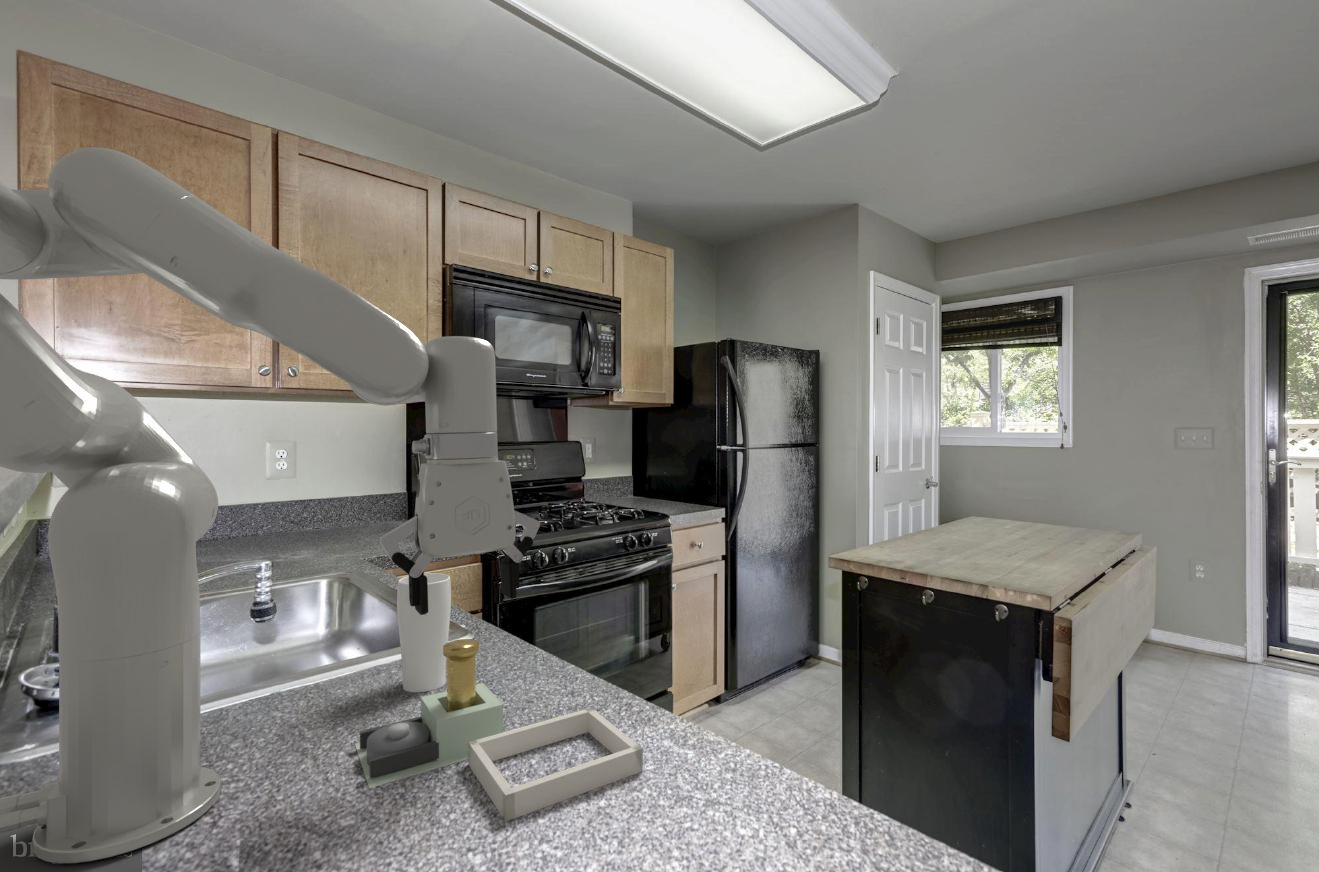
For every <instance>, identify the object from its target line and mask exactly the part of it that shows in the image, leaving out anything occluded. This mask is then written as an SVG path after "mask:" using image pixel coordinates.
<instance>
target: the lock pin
mask: <svg viewBox="0 0 1319 872" xmlns="http://www.w3.org/2000/svg"><path fill="white" fill-rule="evenodd" d="M479 652H480V641H478V639H471V638H463V639H456V640H451V641H448V643H446V644H445V645H444V646H443V655H444V656H445V657H447V659H446V691H447V713H448V712H452V711H456V710H460V709H464V708H468V707H472V706H476V679H477V678H476V677H477V675H476V672H477V671H476V668H477V667H476V658H477V657H476V654H478V653H479Z"/></svg>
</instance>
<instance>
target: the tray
mask: <svg viewBox="0 0 1319 872" xmlns="http://www.w3.org/2000/svg"><path fill="white" fill-rule="evenodd" d="M586 733H589V735H591V736H592V737H594V739H596V740H597V741H598V742H599V743H600V744H601V745H603V746H604V747H605V748H606V749H607V750H608V751H609V752H610V753H611V754H608V755H605V756H602V757H600V758H596V759H593V760H590V761H587V762H584V763H581V764H579V765H576V766H573V767H569V768H566V769H563V770H561V771H558V772H555V773H551V774H549V775H546V776H543V777H540V778H538V779H534V780H530V781H528V782H525V783H521V784H518V785H516V786H512V787H511V785H510V784H509V783H508V782H507V780H506V779H505V777H504V776H503V775H502V773H501V772H500V770H499V769H498V768H497V766H496V765H495V764H494V762H495V761H498V760H502V759H504V758H508V757H512V756H514V755H517V754H520V753H524V752H528V751H531V750H534V749H538V748H541V747H544V746H547V745H550V744H553V743H554V744H555V743H557V742H560V741H563V740H567V739H569V738H574V737H576V736H580V735H583V734H586ZM643 753H644V752H643V748H642V747H641V746H640V745H639V744H638V743H636V742H635V741H634V740H633V739H632V738H631V737H629V736H628V735H626V734H625V733H624V732H623V731H622V730H620V729H619V728H618V727H617V726H615V725H614V724H613V723H611V722H610V721H609V720H607V719H606V718H605V717H604V716H603V715H601V714H600V713H599V712H597V711H596V709H594V708H593V707H588V708H586V709H581V710H578V711H575V712H572V713H568V714H564V715H561V716H556V717H554V718H550V719H545V720H543V721H539V722H536V723H535V722H534V723H531V724H529V725H525V726H521V727H517V728H513V729H511V730H507V731H503V733H499V734H496V735H492V736H489V737H485V738H482V739H478V740H474V741H471V742H468V759H467V761H468V762H467V763H468V766H469V768H470V769H471V771H472V772H473V774H474V775H475V777H476V778H477V780H478V782H479V783H480V784H481V787H483V789H484V790H485V793H486V794H487V795H488V797H489V798H490V800H491V801H492V803H493V804H494V806H495V808H496V809H497V810H498V812H499V813H500V816H501V817H502V818H503V820H504V821H505V822H508V821H511V820H515V819H516V818H519V817H522V816H524V815H527V814H530V813H533V812H535V811H538V810H540V809H544V808H546V807H548V806H552V805H554V804H557V803H560V802H562V801H565V800H569V799H570V798H573V797H576V796H579V795H582V794H584V793H587V792H590V791H593V790H596V789H599V788H601V787H604V786H606V785H609V784H611V783H614V782H617V781H620V780H623V779H625V778H628V777H631V776H633V775H636V774H639V773H642V772H643V771H644V767H643V764H644V763H643V759H644V758H643V755H644V754H643Z"/></svg>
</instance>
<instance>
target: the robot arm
mask: <svg viewBox="0 0 1319 872" xmlns="http://www.w3.org/2000/svg"><path fill="white" fill-rule="evenodd" d="M47 186H48V189H11V188H9V187H8V186H6V185H5V184H4V183H2V182H1V181H0V280H44V279H46V280H47V279H65V278H66V279H68V278H88V277H90V278H91V277H106V276H107V277H109V276H111V277H112V276H125V275H126V276H127V275H138V274H144V275H146V276H147V277H149V278H151V279H152V280H153V281H156V282H157V283H160V284H161V285H163V286H164V287H167V288H168V289H169V290H171V291H173V293H176V294H178V295H180V296H181V297H183V298H185V299H187V300H188V301H189V302H192V303H193V304H195V305H196V306H198V307H199V308H201V309H203V310H205V311H206V312H208V313H209V314H211V315H213V316H215V317H216V318H218V319H220V320H222V321H224V322H226V323H228V324H229V325H231V326H234V327H236V328H239V329H245V330H248V331H252V332H255V333H257V334H261V335H263V336H265V337H267V338H268V339H271V340H273V341H275V342H277V343H278V344H280V345H282V346H284V347H287V348H288V349H290V350H291V351H293V352H295V353H297V354H299V355H300V356H302V357H304V358H305V359H307V360H309V361H311V362H312V363H314V364H316V365H317V366H318V367H321V368H322V369H324V370H325V371H327V372H328V373H330V374H332V375H334V376H336V377H337V378H339V380H340V379H341V380H342V381H344V382H345V383H347V385H349V387H350V389H351V390H352V391H353V392H354V394H356V395H357V397H359V398H360V399H362V400H363V401H365V402H366V403H370V404H372V405H376V406H385V407H387V406H396V405H398V406H399V405H404V404H412V403H413V404H414V403H419V402H420V403H421V402H424V403H425V404H424V406H425V433H426V434H424V437H423V438H421V439H419V440H413V441H412V445H411V449H412V453H413V454H420V455H423V456H424V458H425V459H426V463H420V468H419V472H418V476H417V477H418V478H417V485H416V494H415V495H416V496H415V506H414V507H415V508H414V516H413V517H411V518H410V519H408V520H407V521H405V522H403V523H401V524H400V525H398V526H396V527H395V528H393V529H391V530H389V531H388V532H386V533H385V534H383V535H381V536H380V537H379V543H380V545H381V546H382V548H383V550H384V551H385V553H386V554H387V556H388V558H389V559H390V561H391V562H392V563H394V565H396V566H397V567H399V568H400V569H401V570H403V571H404V572H405V573H406V574H407V575H408V576H409V601H410V605H411V606H415V609H416V610H417V612H418V613H419V614H420V615H424V614H426V613H428V582H427V577H426V576H425V575H424V574H425V572H424V571H425V570H426V569H427V568H428V567H429V565H430V564H431V562H432V561H433V560H434V559H441V558H442V559H443V558H452V557H461V556H466V555H467V556H468V555H475V554H482V553H489V552H497V551H499V552H500V553H501V554H502V555H503V558H502V559H501V561H500V589H501V590H500V591H501V594H503V596H505V597H507V598H509V599H511V600H512V599H516V598H517V589H519V588H520V563H521V562H522V561H523V559H524V555H526V553H527V552H528V551H529V549H530V548H531V547H532V546H533V544H534V539H535V538H536V535H537V533H538V530H539V529H540V526H541V522H540V521H539V520H537V519H536V518H533V517H531V516H528V515H526V514H523V513H521V512H519V511H518V510H515V507H514V500H513V499H514V498H513V491H512V485H511V480H510V473H509V470H508V466H507V462H506V460H499V457H498V456H499V455H498V454H499V453H498V450H499V449H498V418H497V417H498V414H497V413H498V412H497V383H496V382H497V381H496V380H497V379H496V377H497V375H496V353H495V349H494V346H493V345H492V344H491V343H490V342H489V341H488V340H485V339H483V338H479V337H473V336H464V335H463V336H461V335H459V336H458V335H455V336H453V335H451V336H439V337H435V338H433V339H431V340H430V341H429V340H428V342H426V343H425V342H422V341H421V340H420V339H419V337H417V335H416V334H415V333H414V332H413V331H411V330H410V328H408V327H406V325H404V323H403V324H402V323H401V322H400V321H398V320H397V319H396V318H394V317H393V316H391V315H390V314H388V313H387V312H385V311H384V310H382V309H380V308H379V307H377V306H376V305H375V304H373V303H372V302H370V301H369V300H367V299H365V298H364V297H362V296H361V295H359V294H358V293H356V292H354V291H353V290H351V289H350V288H349V287H346V286H345V285H344V284H341V283H340V282H338V281H336V280H335V279H333V278H332V277H330V276H328V275H326V274H325V273H322V272H321V271H319V270H317V269H315V268H313V267H310V266H309V265H306V264H305V263H303V262H302V261H300V260H298V259H296V258H295V257H293V256H291V255H289V254H287V253H285V252H283V251H281V250H279V248H276V247H274V246H273V245H271V244H270V243H269V242H267V241H265V240H264V239H262V238H261V237H259V236H257V235H256V234H255V233H253V232H251V231H249V230H248V229H247V228H246V227H244V226H241V225H239V224H238V223H237V222H235V221H234V220H232V219H231V218H230V217H228V216H226V215H225V214H223V213H222V212H220V211H218V210H217V209H216V208H214V207H213V206H211V205H210V204H209V203H207V202H205V201H204V200H202V199H201V198H200V197H198V196H197V195H194V194H193V193H191V192H190V191H189V190H187V189H185V188H184V187H182V186H181V185H179V184H178V183H176V182H175V181H173V180H172V179H170V178H169V177H167V176H165V175H164V174H163V173H161V172H160V171H158V170H156V169H155V168H153V167H151V166H150V165H149V164H146V163H145V162H143V161H142V160H139V159H137V158H135V157H133V156H131V155H129V154H126V153H124V152H121V151H118V150H116V149H111V148H106V147H96V146H95V147H84V148H79V149H75V150H74V151H71V152H69V153H67V154H65V155H64V156H62V157H61V158H60V159H59V160H57V161H56V163H55V164H54V166H53V167H52V169H51V171H50V174H49V178H48V183H47ZM0 468H4V469H7V470H10V471H15V472H20V473H30V474H31V473H32V474H33V473H35V474H45V473H52V474H53V475H54V476H55V477H56V478H57V479H58V480H59V481H60V482H61V483H62V484H63V485H64V486H65V487H66V488H67V490H66V491H65V492H64V494H63V495H62V496H61V497H60V498H59V500H58V502H57V503H56V504H55V506H54V509H53V512H52V513H51V516H50V520H49V524H48V531H47V536H48V538H47V539H48V540H47V542H48V546H47V547H48V551H49V553H48V554H49V559H50V562H51V569H52V574H53V579H54V586H55V590H56V591H55V592H56V600H57V618H58V658H59V660H58V662H59V663H58V665H59V666H58V667H59V668H58V670H59V671H58V672H59V673H58V674H59V675H58V682H59V683H58V684H59V685H58V689H59V690H58V693H59V696H58V706H59V707H58V709H59V711H58V719H59V720H58V723H59V724H58V725H59V726H58V733H59V734H58V735H59V736H58V778H57V780H56V781H53V782H50V783H44V785H43V786H42V788H41V789H38V790H34V791H30V792H26V793H16V794H12V795H8V796H7V795H6V796H3V797H0V834H3V833H6V832H7V833H8V832H10V831H14V830H18V829H21V828H23V827H27V826H31V825H35V824H37V827H36V828H35V830H34V831H33V834H32V841H31V842H32V853H33V854H34V855H35V856H36V858H38V859H41V860H43V861H44V862H48V863H54V864H55V863H56V864H79V863H87V862H94V861H99V860H103V859H108V858H113V857H115V856H116V857H117V856H119V855H123V854H126V853H130V852H132V851H135V850H138V849H140V848H143V847H146V846H149V845H151V844H154V843H156V842H158V841H160V840H162V839H165V838H168V837H169V836H171V835H173V834H175V833H177V832H179V831H180V830H182V829H184V828H185V827H187V826H188V825H190V824H192V823H194V822H195V821H197V819H199V818H201V817H202V816H203V815H204V814H206V813H207V812H208V811H209V809H210V808H212V806H213V805H215V803H216V802H217V800H218V799H219V797H220V795H221V790H222V786H221V785H222V784H221V777H220V775H219V774H218V772H216V771H215V770H213V769H211V768H208V767H204V766H201V597H200V583H199V573H198V564H197V562H198V561H197V542H198V541H199V540H200V539H201V538H203V537H204V536H205V535H206V534H207V532H208V531H209V530H210V529H211V527H213V524H214V522H215V520H216V518H217V515H218V511H219V498H218V493H217V490H216V488H215V485H214V484H213V483H212V481H211V479H210V478H209V477H208V475H207V473H205V472H204V471H203V470H202V468H201V467H200V466H199V465H198V464H197V463H196V461H194V460H193V458H192V457H191V456H190V455H189V454H188V453H187V452H186V450H184V449H183V447H181V445H180V444H179V443H178V442H177V441H176V440H175V438H173V437H172V436H171V435H170V433H168V431H167V430H166V429H165V428H164V427H163V426H162V425H161V424H160V422H158V420H157V419H156V418H155V417H154V416H153V415H152V414H151V413H150V411H148V409H147V408H145V406H144V405H143V404H142V403H141V402H140V401H139V400H138V399H137V398H136V397H135V396H133V395H132V394H131V393H130V392H128V391H127V390H126V389H125V388H123V387H122V386H121V385H119V384H117V383H116V382H114V381H112V380H110V379H107V378H105V377H104V376H100V375H97V374H94V373H91V372H87V371H83V370H81V369H78V368H76V367H75V366H74V365H72V364H70V363H69V362H68V361H67V360H66V359H65V358H64V357H62V355H60V354H59V352H57V351H56V350H55V348H53V347H52V346H51V344H50V343H49V342H47V341H46V339H45V338H43V336H42V335H41V334H39V333H38V331H37V330H36V329H34V327H33V326H32V325H31V324H30V323H29V321H28V320H27V318H25V316H24V315H23V314H22V313H21V311H19V310H18V309H17V308H16V307H15V305H13V304H12V303H11V302H10V301H9V300H8V299H7V298H6V297H5V296H4V295H3V294H2V293H0ZM516 524H517V525H520V526H522V529H523V530H522V534H521V535H520V536H519V537H518V539H517V540H516V535H517V533H516V531H517V529H516ZM413 534H414V544H415V548H416V551H415V552H414V553H413V554H412V556H411V557H410V558H409V557H408V556H406V555H405V554H404V553H403V551H402V550H401V548H400V547H399V544H400V542H401V541H402V540H404V539H406V538H408V537H409V536H411V535H413Z"/></svg>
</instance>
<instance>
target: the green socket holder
mask: <svg viewBox="0 0 1319 872" xmlns="http://www.w3.org/2000/svg"><path fill="white" fill-rule="evenodd" d="M503 732H504V704H503V703H502V701H500V700H499V698H498V697H497V696H496V695H495V694H494V693H493V692H492V691H491V690H490V689H489V688H488V687H487V685H486V684H484V682H481V683H477V684H476V706H472V707H468V708H464V709H460V710H456V711H452V712H448V713H447V690H446V691H441V692H437V693H434V694H428V695H425V696H421V697H420V716H418V717H417V716H416V717H413V718H408V719H406V720H405V719H404V720H401V721H397V722H394V723H390V724H389V723H388V724H385V725H380V726H377V727H373V728H369V729H365V730H361V731H359V742H357V743H354V745H355V749H356V751H357V756H358V757H359V762H360V765H361V768H362V770H363V774H364V777H365V779H366V783H367V785H368V789H372V788H376V787H378V786H379V787H380V786H383V785H386V784H390V783H393V782H397V781H400V780H403V779H406V778H410V777H413V776H417V775H420V774H423V773H427V772H430V771H434V770H437V769H441V768H443V767H447V766H450V765H454V764H456V763H460V762H464V761H468V742H471V741H474V740H478V739H482V738H485V737H489V736H492V735H496V734H499V733H503Z"/></svg>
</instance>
